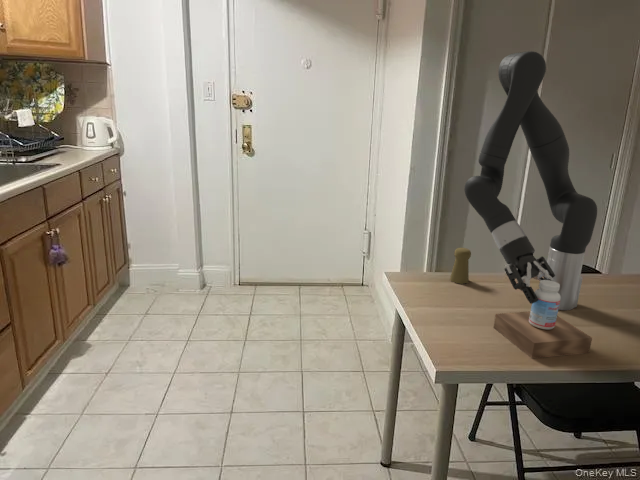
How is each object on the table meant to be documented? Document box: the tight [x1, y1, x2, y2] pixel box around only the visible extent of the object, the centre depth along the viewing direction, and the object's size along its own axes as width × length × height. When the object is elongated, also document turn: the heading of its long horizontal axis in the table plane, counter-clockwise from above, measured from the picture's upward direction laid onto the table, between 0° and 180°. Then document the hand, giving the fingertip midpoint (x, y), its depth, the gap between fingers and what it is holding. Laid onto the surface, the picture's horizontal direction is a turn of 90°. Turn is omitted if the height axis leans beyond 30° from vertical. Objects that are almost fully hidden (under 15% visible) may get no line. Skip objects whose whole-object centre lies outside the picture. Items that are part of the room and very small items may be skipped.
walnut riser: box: [493, 310, 593, 359], centre depth 128 cm, size 16×16×4 cm
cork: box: [449, 247, 472, 285], centre depth 165 cm, size 6×6×11 cm
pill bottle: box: [529, 280, 561, 330], centre depth 126 cm, size 6×6×11 cm
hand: (545, 299), depth 126 cm, fingers open, 8 cm apart
